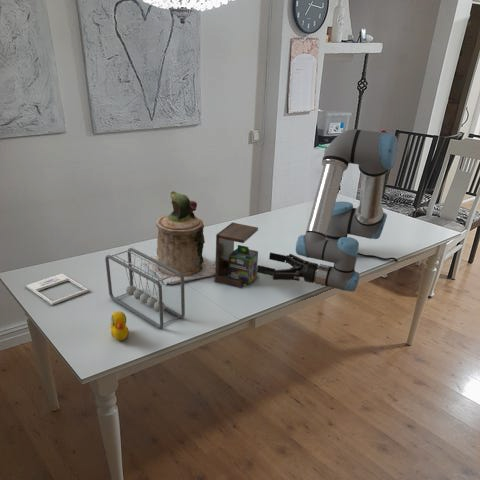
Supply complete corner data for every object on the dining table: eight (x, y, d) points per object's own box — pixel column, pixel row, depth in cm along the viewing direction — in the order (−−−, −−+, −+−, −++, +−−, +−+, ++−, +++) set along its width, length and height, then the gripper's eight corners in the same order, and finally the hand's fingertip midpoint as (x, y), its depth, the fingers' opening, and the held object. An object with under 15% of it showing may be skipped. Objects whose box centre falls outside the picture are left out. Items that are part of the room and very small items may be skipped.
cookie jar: (166, 287, 180) (162, 206, 163) (141, 262, 197) (136, 187, 180) (221, 274, 192) (223, 198, 175) (193, 252, 209) (193, 180, 192)
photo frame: (62, 272, 183) (88, 288, 173) (62, 275, 184) (88, 291, 174) (26, 284, 174) (51, 302, 164) (26, 287, 174) (52, 305, 164)
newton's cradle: (109, 298, 171) (104, 253, 161) (132, 289, 177) (128, 245, 168) (161, 331, 154) (159, 283, 145) (185, 319, 161) (184, 273, 152)
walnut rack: (254, 273, 195) (258, 227, 184) (240, 288, 183) (243, 240, 172) (230, 267, 198) (232, 222, 187) (215, 281, 186) (216, 234, 176)
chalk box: (257, 277, 191) (259, 243, 184) (248, 286, 184) (250, 251, 176) (236, 272, 194) (238, 238, 187) (227, 280, 187) (228, 246, 179)
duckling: (131, 346, 146) (129, 319, 141) (114, 349, 144) (111, 322, 139) (126, 327, 155) (124, 301, 150) (109, 329, 153) (106, 303, 148)
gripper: (306, 296, 167) (251, 283, 174) (323, 270, 187) (273, 259, 193) (309, 278, 163) (252, 265, 170) (326, 252, 183) (275, 242, 189)
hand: (263, 262), depth 182 cm, fingers open, 13 cm apart
